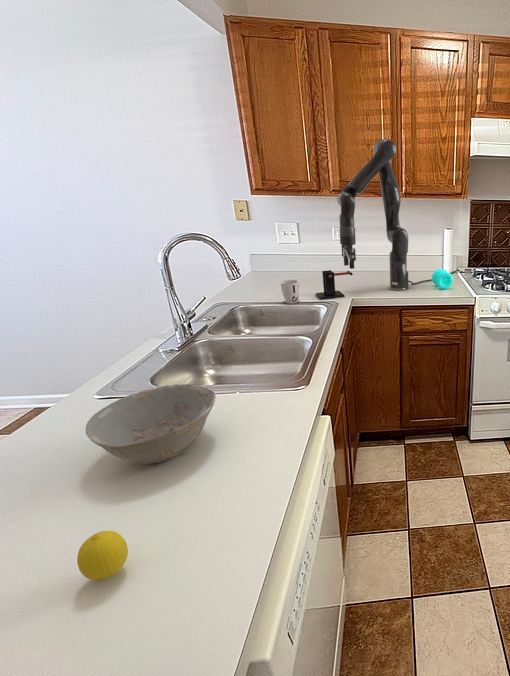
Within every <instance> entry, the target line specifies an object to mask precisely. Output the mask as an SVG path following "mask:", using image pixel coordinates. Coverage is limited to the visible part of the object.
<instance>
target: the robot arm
mask: <svg viewBox="0 0 510 676" xmlns="http://www.w3.org/2000/svg"><path fill="white" fill-rule="evenodd" d="M397 151H398V149H397V145H396V143H395V142H394V141H393V140H392V139H390V138H383V139H378V140H376V142H375V143H374V146H373V153H374V155H373V156H372V157H371V159H370V160H369V161H368V162H367V163H366V164H365V165H364V166H363V167H362V168H360V169H359V170H358V171H357V172H356V174H355V175H354V176H353V178H352V179H351V180H350V181H349V183H348V184H347V185H345V187H344V188H343V189H342V190H341V191H340V192H339V193H338V195H337V196H336V202H337V204H338V205H339V206H340V214H339V217H338V218H339V219H338V220H339V244H340V246H341V257H342V258H343V266H346V267H347V266H349V269H351V270H354V269H355V261H357V256H356V248H355V247H353V246H355V245H356V244H357V243H356V242H357V241H356V239H357V238H356V228H355V210H356V197H357V196H358V195H360V194H362V193H363V191H364V190H365V189H366V188H367V187H368V185H369V184H370V182H372V180H373V179H374V177H375V176H376V175H377V174H378V176H379V177H378V178H379V184H380V193H381V198H382V203H383V210H384V217H385V226H386V228H385V229H386V230H385V231H386V238H387V240H388V242H389V243H391V251H390V252H389V256H388V257H389V289H390V290H392V291H405V290H408V289H409V283H410V284H411V285H418V284H420V283H425V282H433V281H432V278H431V279H424V280H420V281H417V282H414V281H412V280H409V271H408V261H407V260H408V259H407V256H408V252H409V234H408V231H407V230H406V228H403V227H401V223H400V217H399V216H400V215H399V214H400V209H401V202H402V201H401V199H402V198H401V193H400V191H401V190H400V186H399V183H398V180H397V177H396V176H395V173H394V170H393V164H392V159H393V158H394V157H396V154H397ZM460 270H461V269H457V270H453V271H451V272H449V273H450V274H451V275H452V274H454V273H457V272H461V273H464V271H463V270H462V271H460Z"/></svg>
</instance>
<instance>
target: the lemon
mask: <svg viewBox="0 0 510 676" xmlns="http://www.w3.org/2000/svg"><path fill="white" fill-rule="evenodd" d="M128 549H129V547H128V543H127V542H126V539H125V538H124V537H123V535H121V534H120V532H119V533H118V532H116V531H114V530H102V531H99V532H96V533H94V534H92V535H91V536H89V537H88V538H86V540H85V541H84V542H83V543H82V544H81V545H80V547H79V549H78V552H77V557H76V560H77V561H76V562H77V566H78V567H77V568H78V570H79V572H80V573H81V575H82V576H84V577H85V578H86V579H88V580H92V581H101V580H105V579H108V578H110V577H112V576H114V575H115V574H117V573H118V572H119V571H120V570H121V569H122V568H123V566H124V565H125V563H126V562H127V558H128V555H129V550H128Z"/></svg>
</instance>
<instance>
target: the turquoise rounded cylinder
mask: <svg viewBox="0 0 510 676" xmlns="http://www.w3.org/2000/svg"><path fill="white" fill-rule="evenodd" d="M450 273H451V272H448V271H447V270H446V269H444V268H437V269H436V270H434V271H433V273H432V275H431V279H432V281H431V282H432V283H433V284H434V285H435V286H437V288H439V289H441V290H447V289H449V288H450V287H451V286H452V285H453V282H454V277H453V275H452V273H451V274H450Z"/></svg>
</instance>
